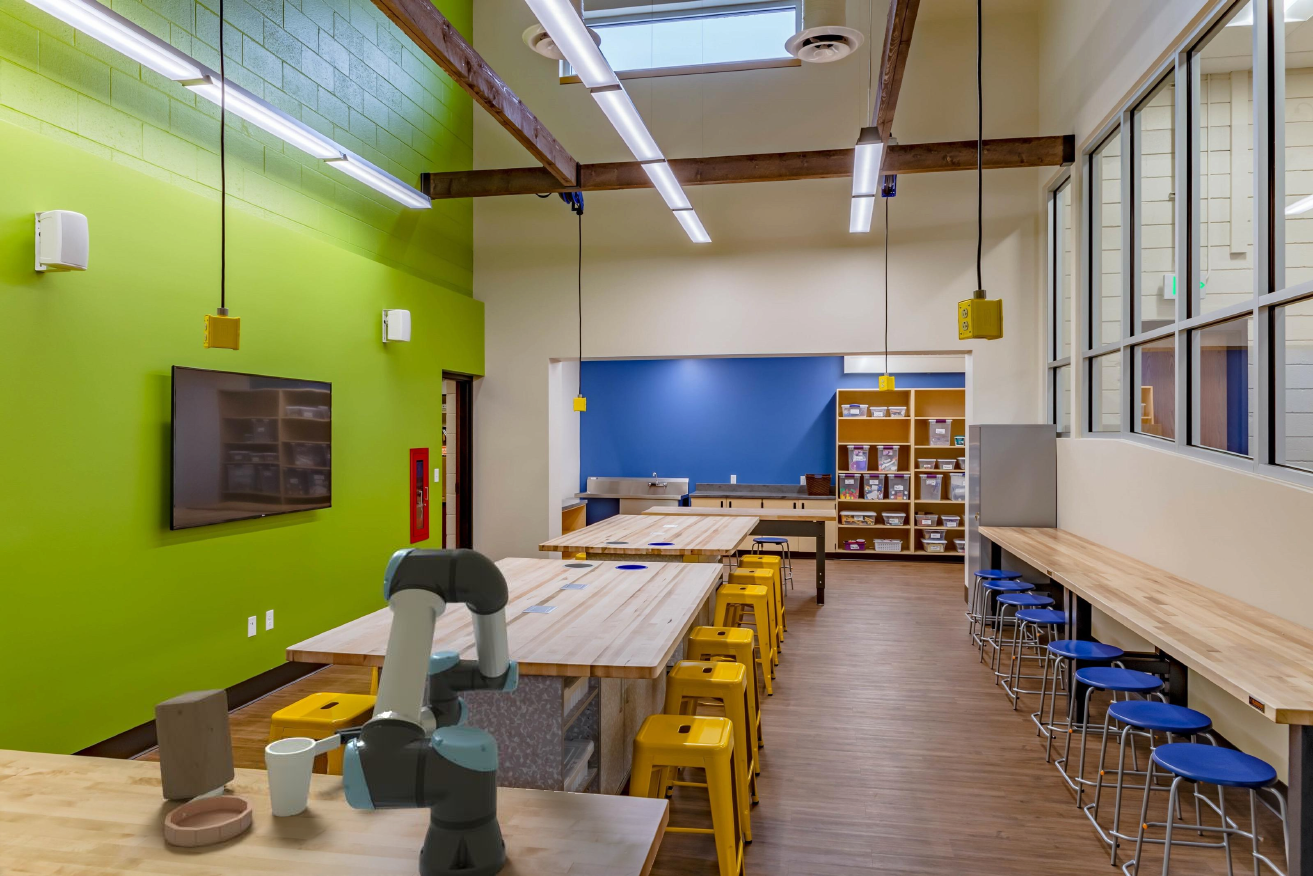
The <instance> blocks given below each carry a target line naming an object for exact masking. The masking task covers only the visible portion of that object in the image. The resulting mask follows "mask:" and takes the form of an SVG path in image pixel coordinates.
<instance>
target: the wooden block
mask: <svg viewBox="0 0 1313 876" xmlns="http://www.w3.org/2000/svg"><path fill="white" fill-rule="evenodd" d="M227 696H228V695H227V691H226V689H223V688H218V689H216V688H215V689H207V690H197V691H188V692H185V693H183V694H182V693H181V694H180V695H177V696H175V697H172V698H169V699H167V700H165V701H162V702H159V703H158V704H156V705H155V707H154V714H155V727H156V735H157V749H158V756H159V767H160V779H161V786H162V797H163V799H165V800H177V799H178V800H182V799H194V798H196V797H197V796H199V795H204V794H206V793H208V792H210V791H213V790H215V789H218V788H220V787H221V786H225V785H227V784H228V783H230V782H232V781H233V780H235V775H236V773H235V767H234V766H235V764H234V755H233V745H232V736H231V726H230V716H229V710H228V709H229V708H228V707H229V706H228V705H229V704H228V697H227Z"/></svg>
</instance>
